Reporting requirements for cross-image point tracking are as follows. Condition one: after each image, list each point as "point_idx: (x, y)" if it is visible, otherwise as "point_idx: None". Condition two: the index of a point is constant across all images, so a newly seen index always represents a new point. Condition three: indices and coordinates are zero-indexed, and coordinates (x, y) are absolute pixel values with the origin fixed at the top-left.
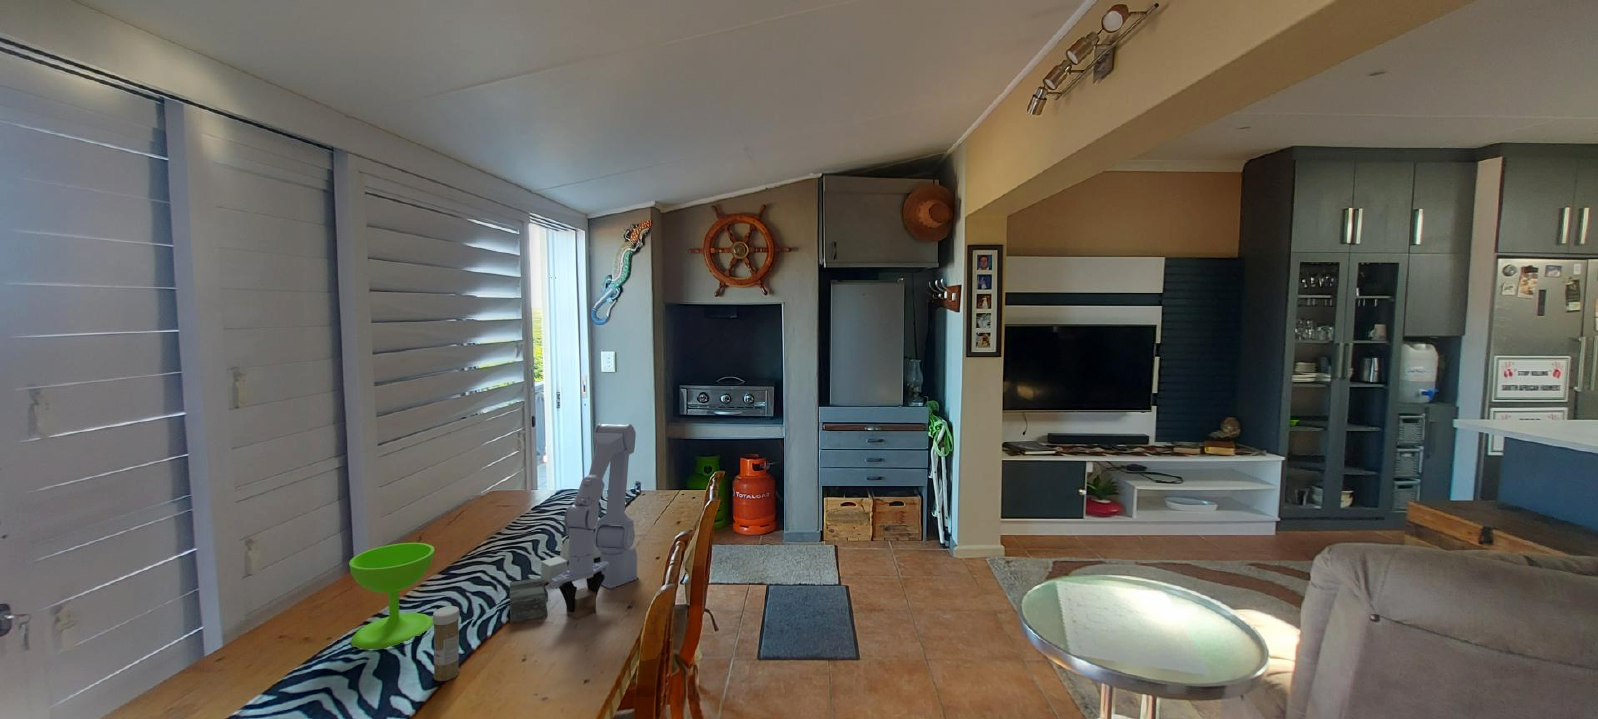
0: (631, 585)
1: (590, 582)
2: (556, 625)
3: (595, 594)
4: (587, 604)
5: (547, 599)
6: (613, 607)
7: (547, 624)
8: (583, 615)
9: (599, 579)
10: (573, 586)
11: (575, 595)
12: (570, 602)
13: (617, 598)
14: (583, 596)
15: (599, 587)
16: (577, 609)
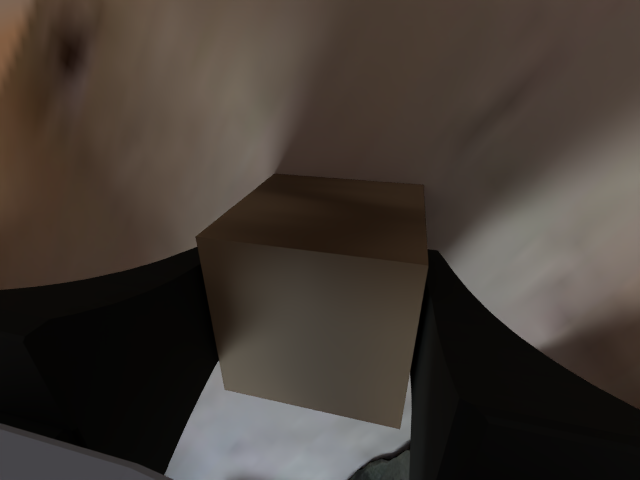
0: (15, 273)
1: (164, 385)
2: (579, 233)
3: (209, 230)
4: (320, 210)
5: (376, 464)
6: (159, 139)
7: (597, 293)
8: (371, 185)
9: (19, 313)
10: (503, 472)
11: (371, 350)
12: (475, 302)
13: (105, 219)
14: (329, 275)
15: (127, 271)
16: (424, 217)
